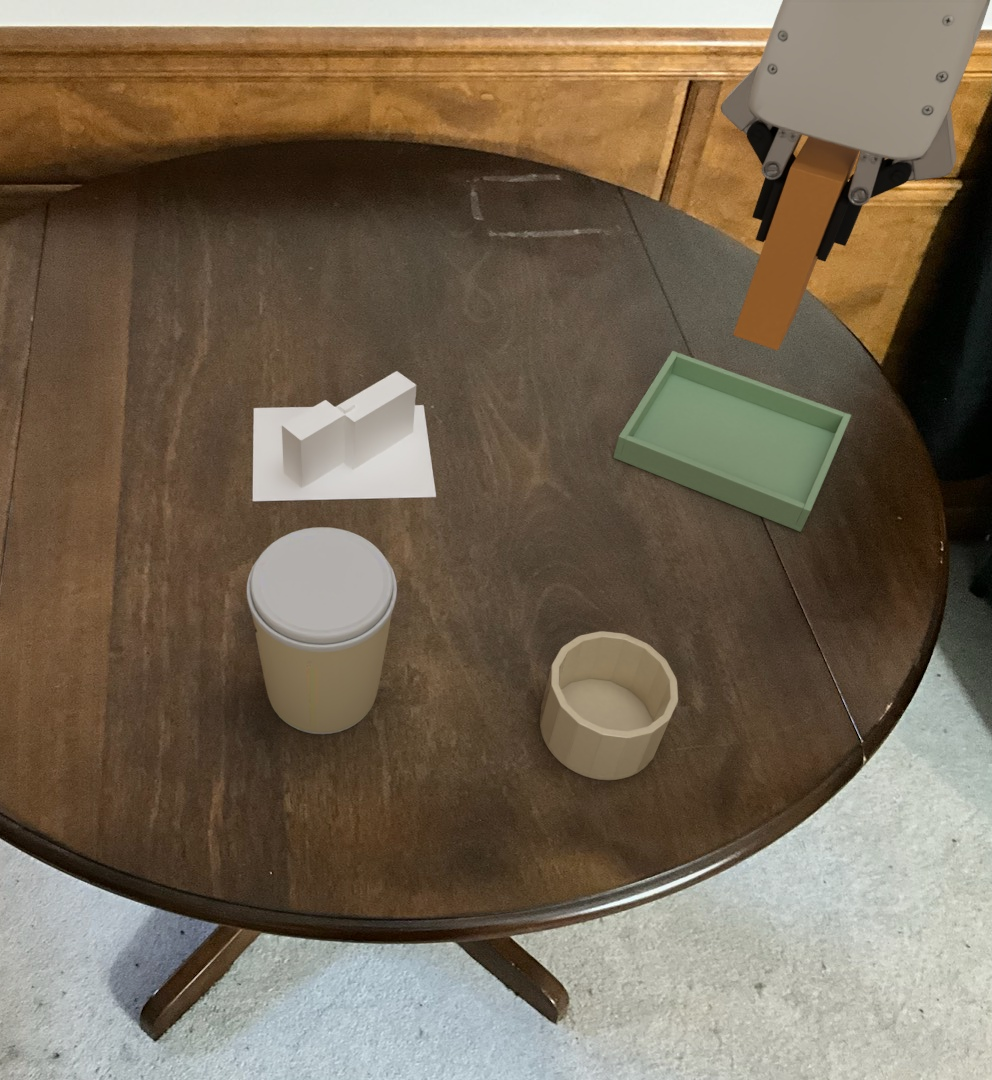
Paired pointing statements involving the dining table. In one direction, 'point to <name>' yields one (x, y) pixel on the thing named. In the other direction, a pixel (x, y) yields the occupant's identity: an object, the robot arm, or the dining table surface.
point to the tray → (733, 439)
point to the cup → (607, 705)
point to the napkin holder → (345, 447)
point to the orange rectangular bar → (794, 241)
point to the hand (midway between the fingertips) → (796, 237)
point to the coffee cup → (321, 626)
